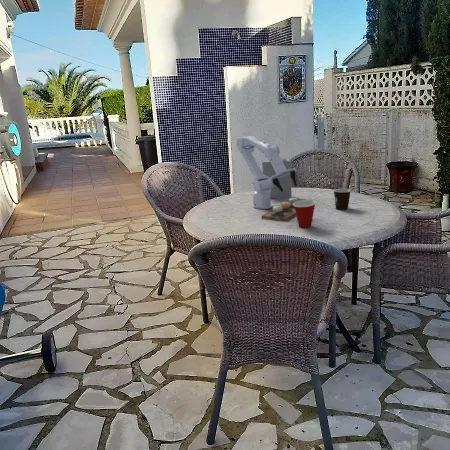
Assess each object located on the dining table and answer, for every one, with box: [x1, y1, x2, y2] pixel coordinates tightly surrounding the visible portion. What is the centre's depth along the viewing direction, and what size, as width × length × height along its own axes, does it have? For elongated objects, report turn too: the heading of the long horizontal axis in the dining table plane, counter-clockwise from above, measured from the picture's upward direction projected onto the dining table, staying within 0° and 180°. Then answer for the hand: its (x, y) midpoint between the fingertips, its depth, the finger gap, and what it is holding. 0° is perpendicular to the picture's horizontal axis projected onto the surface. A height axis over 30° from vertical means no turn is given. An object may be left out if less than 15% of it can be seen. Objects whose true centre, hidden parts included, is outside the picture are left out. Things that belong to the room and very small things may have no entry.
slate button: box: [288, 197, 299, 204], centre depth 232 cm, size 5×5×2 cm
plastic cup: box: [293, 199, 317, 229], centre depth 200 cm, size 11×11×12 cm
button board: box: [261, 203, 297, 222], centre depth 226 cm, size 14×27×2 cm, turn 145°
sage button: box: [272, 205, 282, 212], centre depth 218 cm, size 5×5×2 cm
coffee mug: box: [333, 188, 352, 211], centre depth 228 cm, size 12×9×10 cm
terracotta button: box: [280, 201, 291, 208], centre depth 225 cm, size 5×5×2 cm
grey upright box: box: [261, 158, 293, 199], centre depth 260 cm, size 17×5×25 cm, turn 81°
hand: (289, 188), depth 218 cm, fingers open, 7 cm apart
